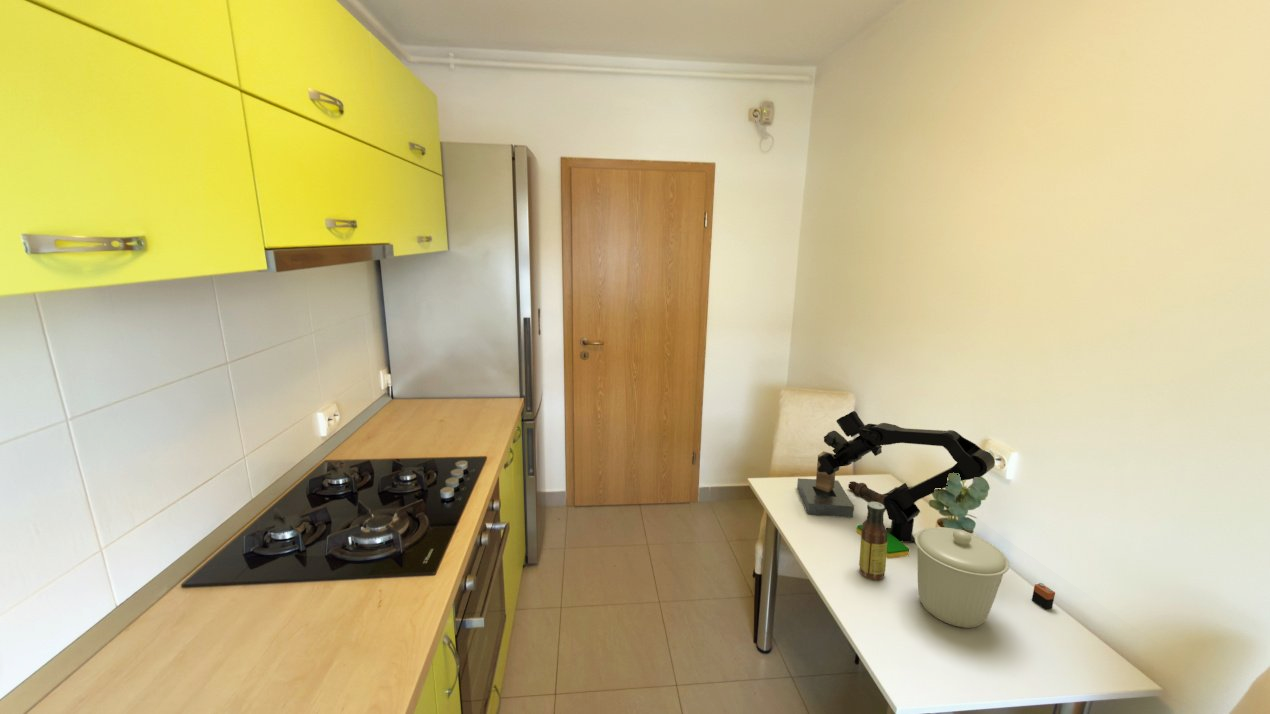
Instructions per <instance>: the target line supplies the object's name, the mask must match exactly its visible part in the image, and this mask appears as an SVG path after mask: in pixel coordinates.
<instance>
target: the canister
mask: <svg viewBox="0 0 1270 714" xmlns="http://www.w3.org/2000/svg"><path fill="white" fill-rule="evenodd" d="M914 538H915V542H914V543H915V545H916V547H917V568H916V569H917V592H918V597H919V600H920V602H921V604H922V605H923V607H924V608H925V609H926V610H927V612H928V613H930V614H931V616H933V617H935V618H936V619H939V620H940V621H942V622H943V623H946V624H949V625H952V626H954V627H958V628H969V629H970V628H976V627H978V626H981V625H982V624H983V623H984V622H985V621H986V620H987V619H988V616H989V614H990V612H991V609H992V607H993V604H994V602H995V599H996V597H997V593H998V590H999V588H1000V584H1001V583H1002V579H1003V576H1004V575H1005V574H1006V573H1007V572H1008V571H1009V569H1010V562H1009V561H1010V560H1009V559H1008V558H1007V556H1006V555H1005V554H1004V552H1002V551H1001V550H1000V549H999V548H997V547H996V545H993V544H992V543H991V542H989V541H988V540H985V539H984V538H982V537H980V536H978V535H975V534H973V533H971V532H968V531H966V530H963V529H958V528H953V527H942V526H941V527H940V526H938V527H928V528H924V529H921V530H919V531H918V532H916V534H915V536H914Z"/></svg>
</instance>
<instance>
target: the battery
mask: <svg viewBox="0 0 1270 714" xmlns="http://www.w3.org/2000/svg"><path fill="white" fill-rule="evenodd" d="M1055 596H1056V592H1055V591H1054V590H1053V589H1051V588H1049V587H1047V586H1046V585H1045V584H1044V583H1042V582H1039V583H1037V584H1034V586H1033V591H1032V596H1031V597H1032V598H1031V601H1032V602H1034V603H1035V604H1036V605H1037V606H1039V607H1041V609H1043V610H1051V609H1053V605H1054V601H1055Z"/></svg>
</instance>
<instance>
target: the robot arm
mask: <svg viewBox="0 0 1270 714" xmlns="http://www.w3.org/2000/svg"><path fill="white" fill-rule="evenodd" d="M835 422H836V423H837V424H838V426H839V428H840V429H841V430H842V432H843V433H844V434H845V436H846V437H851V438H853V437H855V436H856V437H855V438H853V439H851V440H847V438H845V437H844V436H843V435H841V433H839V432H838V431H836V430H831V431H829V432H827V434H826V435H824V436H823V442H824V444H826V445H827V446H828V447H831V448H833V449H832V452H833V454H834V455H833V456H832V455H831V454H829V453H830V452H828V453H826V454H824V455H822V456H820V457H818V456H817V462H818V461H819V462H820V464H821V465H820V467H819V468H818V469H817V468H816V471H817V470H818V471H819V472H826V473H827V474H828V475H831V474H833V473H835V474H836V472H838V471H840V467H848V466H850V465H851V464H852V463H856V462H857V461H859V460H862V458H863V457H864V456H866V455H867V454H869V453H872V454H873V456H874V457H877V456H878V455H880V454H882V448H883V446H887V445H889V446H890V445H895V444H908V445H909V444H910V445H911V444H912V445H923V446H936V447H943V448H944V449H945V450H946V451H947V452H948V454H949V455H950V456H951V457H952V459H953V460H954V461H955V462H956V464H953V466H951V467H949V468H948V469H946V470H943V471H942V472H939V473H937V474H935V475H933V476H931V477H930V478H927V479H926V480H923V481H921V482H919V483H917V484H915V485H912V486H908V484H907V483H906V482H904V483H902V484H901V485H899V486H896V487H894V488H893V489H891V490H889V491H888V492H886V495H887V496H886V497H885V498H884V499H883V500H884V501H883V503H884V506H885V508H886V513H887V517H888V519H889V520H891V522H890V527H885V529H886V531H888V532H889V533H890V534H891V535H893V536H894V537H895V538H896V539H898V540H899V541H900V542H901V541H903V542H904V543H915V536H914V535H913V530H914V523H915V518H916V517H918V515H919V514H920V513H921V510H920V508H919V507H918V505H916V503H917V502H918V501H919V500H921V499H923V498H926V497H927V496H930V495H932V494H934V493H935V492H934V489H935V488H941V490H943V489H945V488H947V487H949V486H948V485H946V483H947V477H948V474H949V473H953V472H954V473H959V474H960V477H961V481H968V480H973V479H975V478H974V477H978V478H980V477H983V476H985V475H986V474H987V473H989V471H992V469H993V468H994V467H995V466H996V465H995V463H996V461H995V458H994V456H993V454H991V453H990V452H989V451H987V450H984V449H982V448H981V447H980V446H978V444H976V443H975V442H973V441H971V440H969V439H967V438H966V437H963V435H961V434H960V433H958V432H957V431H955V430H953V429H952V430H951V429H949V430H939V429H920V428H906V427H900V426H898V425H896V424H891V423H889V422H888V423H887V422H881V423H880V422H879V423H878V424H876V423H866V424H864V422H863V421H862V419H861V418H860V416H859V415H858V413H857V412H856V410H852V411H851V412H849V413H847V414H845V415H844V416H841V417H839V418H838V419H836V420H835ZM857 435H858V436H857ZM833 457H834V458H835V459H834V458H833ZM836 457H837V458H836ZM957 475H958V474H957ZM946 486H947V487H946ZM938 491H940V490H939V489H938ZM903 542H902V543H903Z"/></svg>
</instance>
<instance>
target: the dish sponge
mask: <svg viewBox="0 0 1270 714" xmlns="http://www.w3.org/2000/svg"><path fill="white" fill-rule="evenodd" d="M855 531H856V532H857V534H858V535H860V536H861V534H862V524H859V525H856V530H855ZM909 554H910V548H909V547H908V546H906V545H905V544H904V543H903V542H901V541H899V540H898V539H896V538H895V537H894V536H893V535H891V534H890V533H889V532H888V531H887V553H886V559H894V558H900V556H901V557H908V556H909ZM907 555H908V556H907Z"/></svg>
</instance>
